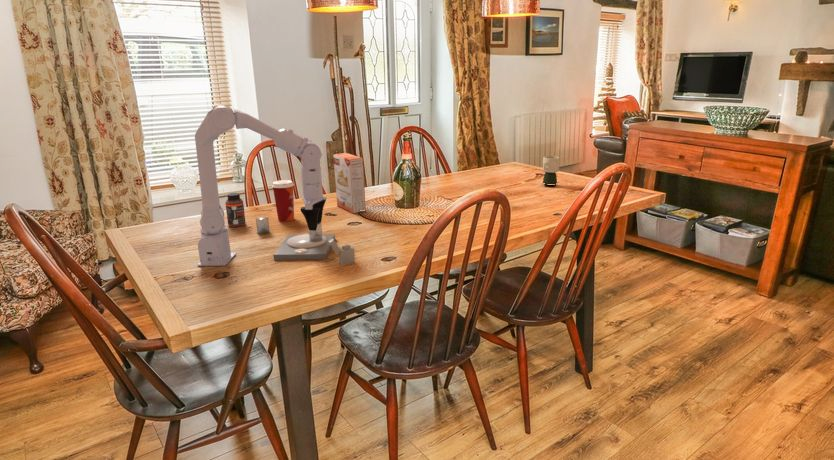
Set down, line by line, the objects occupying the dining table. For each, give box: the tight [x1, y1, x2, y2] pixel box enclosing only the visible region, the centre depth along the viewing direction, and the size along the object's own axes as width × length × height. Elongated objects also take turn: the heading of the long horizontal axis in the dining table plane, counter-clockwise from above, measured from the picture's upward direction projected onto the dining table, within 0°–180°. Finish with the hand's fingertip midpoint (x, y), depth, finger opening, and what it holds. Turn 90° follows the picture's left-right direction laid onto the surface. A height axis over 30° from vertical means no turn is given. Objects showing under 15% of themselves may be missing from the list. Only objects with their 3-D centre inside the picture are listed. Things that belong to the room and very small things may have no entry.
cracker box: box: [333, 152, 367, 214], centre depth 199 cm, size 14×6×21 cm, turn 33°
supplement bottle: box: [225, 192, 246, 228], centre depth 182 cm, size 6×6×11 cm
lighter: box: [328, 239, 356, 266], centre depth 145 cm, size 7×2×8 cm, turn 124°
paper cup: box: [271, 179, 295, 223], centre depth 188 cm, size 8×8×14 cm
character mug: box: [542, 155, 560, 184], centre depth 231 cm, size 11×7×13 cm, turn 133°
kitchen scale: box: [272, 233, 336, 261], centre depth 159 cm, size 18×15×2 cm
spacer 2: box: [307, 222, 323, 242], centre depth 159 cm, size 4×4×5 cm
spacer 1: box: [255, 216, 270, 235], centre depth 175 cm, size 4×4×5 cm
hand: (315, 226), depth 159 cm, fingers open, 7 cm apart
